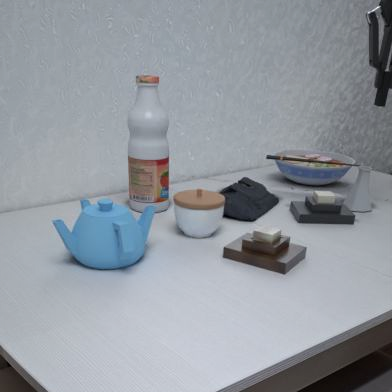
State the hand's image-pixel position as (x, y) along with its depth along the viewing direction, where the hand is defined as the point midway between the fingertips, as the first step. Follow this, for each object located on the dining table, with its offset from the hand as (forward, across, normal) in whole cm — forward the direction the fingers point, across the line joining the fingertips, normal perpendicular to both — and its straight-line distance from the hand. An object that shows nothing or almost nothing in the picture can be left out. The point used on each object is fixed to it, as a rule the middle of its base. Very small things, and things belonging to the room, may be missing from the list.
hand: (379, 105), depth 108 cm
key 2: (+21, -9, -1) cm, 23 cm away
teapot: (+25, -57, -27) cm, 68 cm away
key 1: (+21, -27, -27) cm, 43 cm away
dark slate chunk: (+25, -28, +6) cm, 38 cm away
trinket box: (+25, -39, -14) cm, 48 cm away
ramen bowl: (+25, -5, +28) cm, 38 cm away
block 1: (+24, -27, -26) cm, 45 cm away
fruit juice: (+25, -50, +3) cm, 56 cm away
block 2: (+24, -9, -1) cm, 26 cm away
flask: (+25, +2, +7) cm, 26 cm away
